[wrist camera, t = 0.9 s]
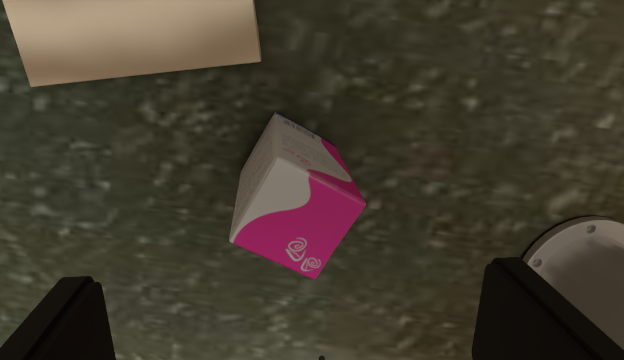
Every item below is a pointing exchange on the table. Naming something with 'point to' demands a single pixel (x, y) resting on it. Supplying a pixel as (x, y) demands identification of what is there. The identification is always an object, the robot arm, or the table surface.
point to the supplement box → (294, 198)
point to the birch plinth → (130, 37)
